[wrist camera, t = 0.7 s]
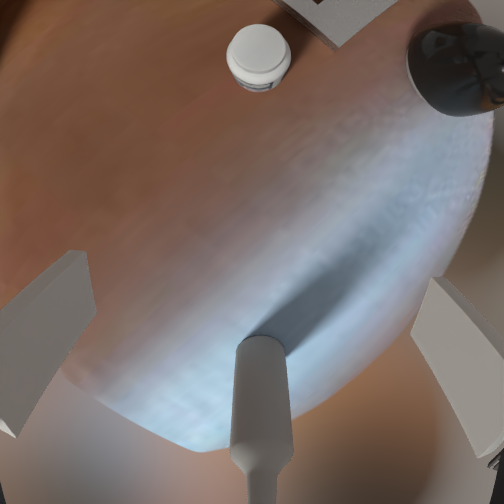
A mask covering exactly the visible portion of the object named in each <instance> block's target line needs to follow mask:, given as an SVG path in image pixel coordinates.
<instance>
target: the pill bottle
mask: <svg viewBox="0 0 504 504" xmlns="http://www.w3.org/2000/svg"><path fill="white" fill-rule="evenodd" d="M290 62H291V51H290V47H289V45H288V43H287V42H286V40H285V39H284V38H283V36H282V35H281V34H280V33H279V32H278V31H277V30H276V29H274V28H273V27H270V26H267V25H263V24H254V25H249V26H247V27H244V28H243V29H241V30H240V31H239V32H238V33H237V34H236V35H235V36H234V38H233V40H232V41H231V42H230V44H229V46H228V49H227V63H228V66H229V68H230V70H231V72H232V74H233V76H234V78H235V80H236V81H237V83H238V84H239V85H240V86H242V87H243V88H245V89H247V90H249V91H253V92H264V91H268V90H271V89H273V88H274V87H276V86H277V85H278V84H279V83H280V82H281V81H282V79H283V78H284V75H285V73H286V71H287V70H288V68H289V65H290Z"/></svg>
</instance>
